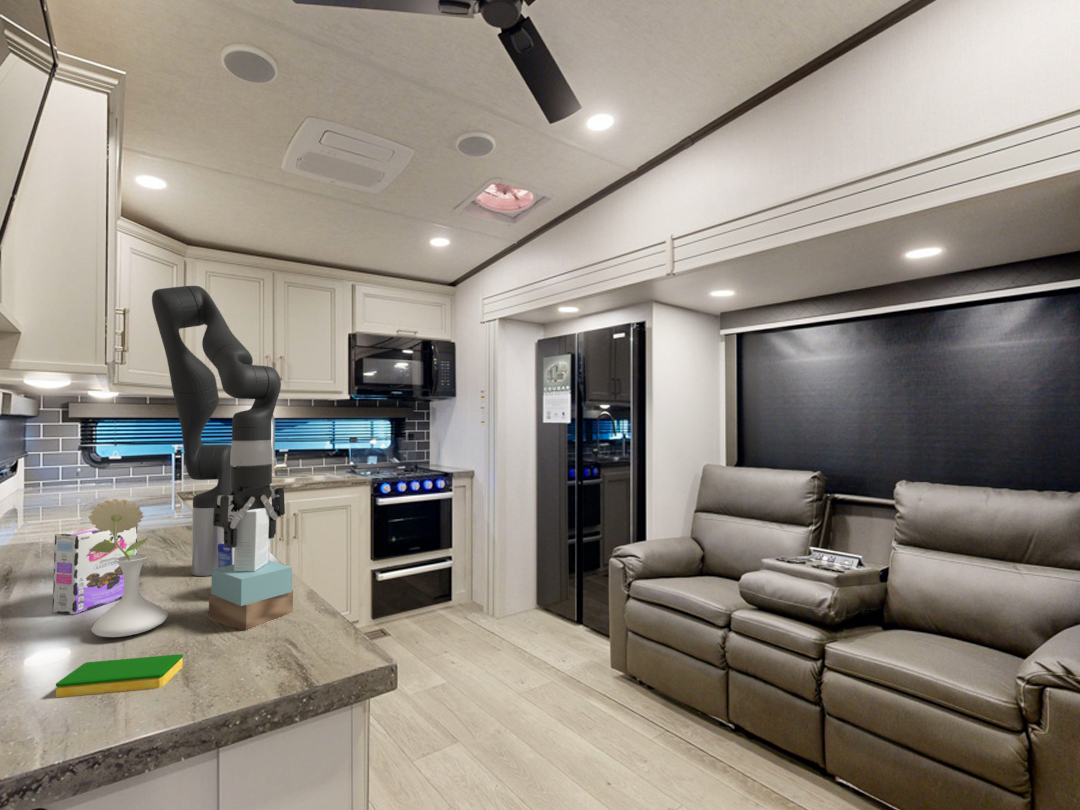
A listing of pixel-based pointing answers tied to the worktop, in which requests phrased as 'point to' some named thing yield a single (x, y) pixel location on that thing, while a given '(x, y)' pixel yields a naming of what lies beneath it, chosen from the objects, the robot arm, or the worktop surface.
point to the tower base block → (249, 611)
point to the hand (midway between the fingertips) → (250, 542)
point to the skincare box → (252, 541)
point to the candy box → (88, 569)
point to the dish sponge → (120, 675)
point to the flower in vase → (124, 574)
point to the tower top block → (251, 583)
